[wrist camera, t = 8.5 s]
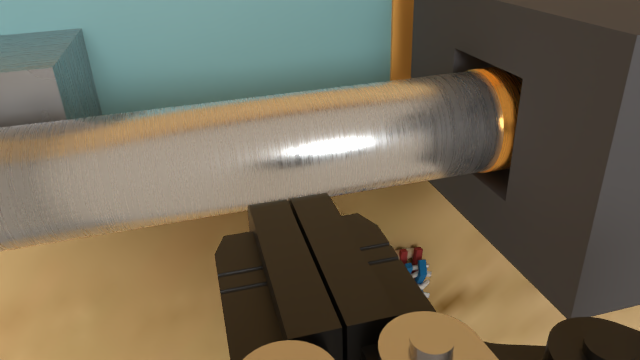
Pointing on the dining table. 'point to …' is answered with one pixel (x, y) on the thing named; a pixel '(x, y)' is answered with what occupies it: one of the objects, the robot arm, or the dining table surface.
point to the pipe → (223, 144)
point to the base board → (224, 46)
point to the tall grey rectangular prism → (553, 140)
